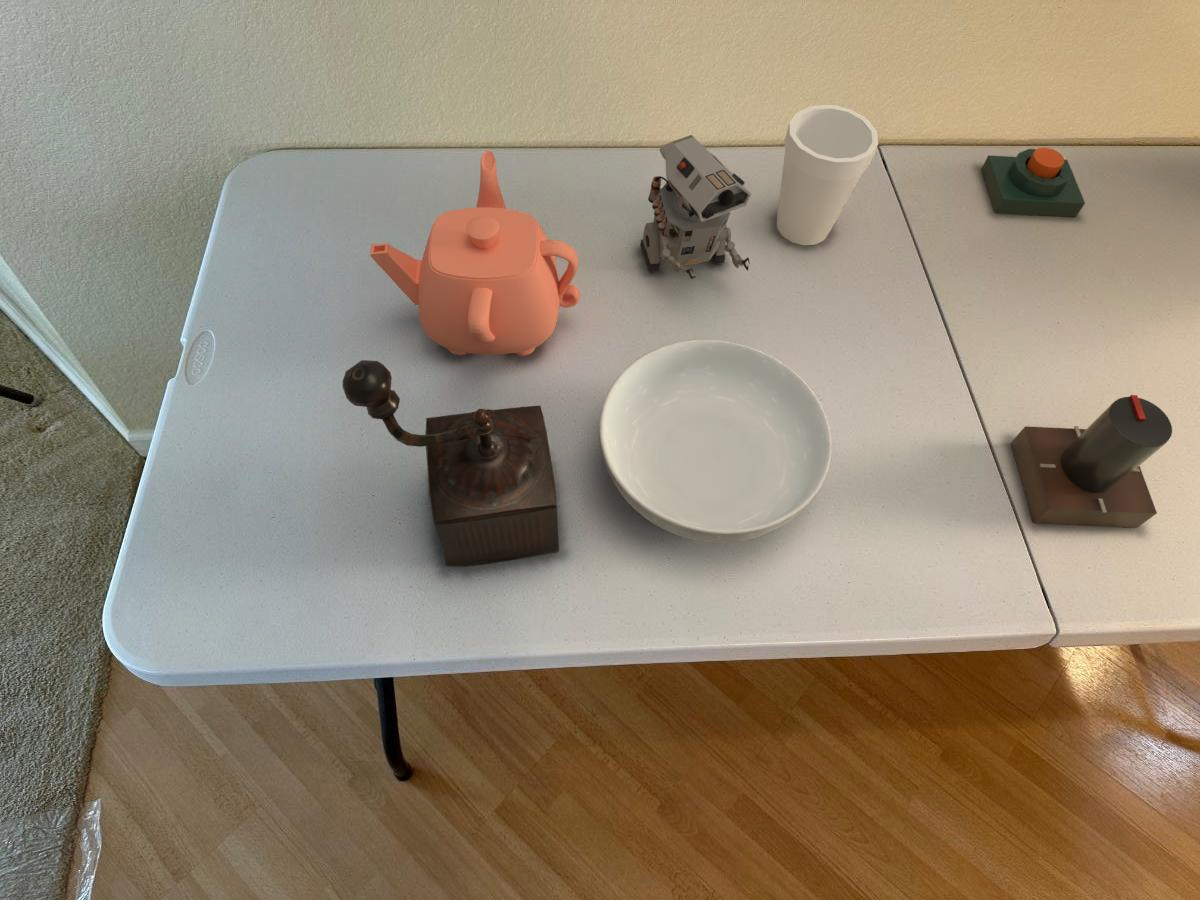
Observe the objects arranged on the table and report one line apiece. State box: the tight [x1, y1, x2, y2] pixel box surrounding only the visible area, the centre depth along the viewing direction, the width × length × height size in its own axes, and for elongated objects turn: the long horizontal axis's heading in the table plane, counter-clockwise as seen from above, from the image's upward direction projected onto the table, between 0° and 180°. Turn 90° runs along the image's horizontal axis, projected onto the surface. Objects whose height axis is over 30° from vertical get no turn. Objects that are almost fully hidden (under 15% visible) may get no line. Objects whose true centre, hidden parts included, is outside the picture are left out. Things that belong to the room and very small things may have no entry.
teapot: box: [369, 150, 581, 357], centre depth 81 cm, size 16×17×14 cm
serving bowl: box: [598, 339, 833, 544], centre depth 75 cm, size 21×21×7 cm
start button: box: [1027, 147, 1065, 178], centre depth 97 cm, size 4×4×2 cm
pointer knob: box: [1062, 394, 1173, 492], centre depth 73 cm, size 5×5×8 cm
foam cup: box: [776, 104, 879, 246], centre depth 91 cm, size 10×9×13 cm
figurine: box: [639, 134, 753, 280], centre depth 85 cm, size 9×12×15 cm
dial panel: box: [1010, 425, 1158, 529], centre depth 77 cm, size 10×9×3 cm
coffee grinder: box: [341, 359, 560, 568], centre depth 67 cm, size 16×11×18 cm
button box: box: [980, 148, 1086, 218], centre depth 99 cm, size 10×8×4 cm
